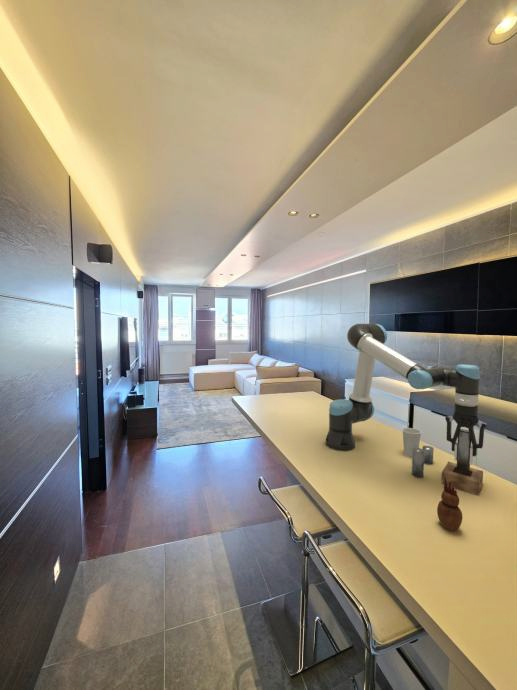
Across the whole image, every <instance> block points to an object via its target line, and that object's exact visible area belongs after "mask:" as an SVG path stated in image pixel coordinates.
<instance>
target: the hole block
mask: <svg viewBox="0 0 517 690" xmlns="http://www.w3.org/2000/svg"><path fill="white" fill-rule="evenodd" d="M456 466H457V463H456V462H451V461H448V462H447V463H446V464H445V466H444V468H443V470H442V471H441V485H444V478H446V481H447V485H449V482H451V488H452V486H454V489H455V490H459V489H460V490H459V491H463V492H465V493H469V494H473V495H475V496H479V495H480V492H481V489H482V485H483V482H484V481H483V480H484V470H480V469H478V468H473V467H470V472H469V473H464V472H460V471H458V470H457V469H456Z"/></svg>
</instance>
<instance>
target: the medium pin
mask: <svg viewBox="0 0 517 690" xmlns="http://www.w3.org/2000/svg"><path fill="white" fill-rule="evenodd" d="M424 452H425V451H424V450H423V448H421V447H419V448H413V454H412V457H411V460H412V461H411V475H412V476H413V477H415V478H418V479H419V478H420V479H421V478H423V477H424V474H425V472H424V471H425V470H424V469H425V463H424Z"/></svg>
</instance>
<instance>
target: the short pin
mask: <svg viewBox="0 0 517 690" xmlns="http://www.w3.org/2000/svg"><path fill="white" fill-rule="evenodd" d="M422 449H423V450H424V451H425V452H424V465H425V464H426V465H433V464H434V451H435V450H434V447H432V446H430V445H423V446H422Z"/></svg>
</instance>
